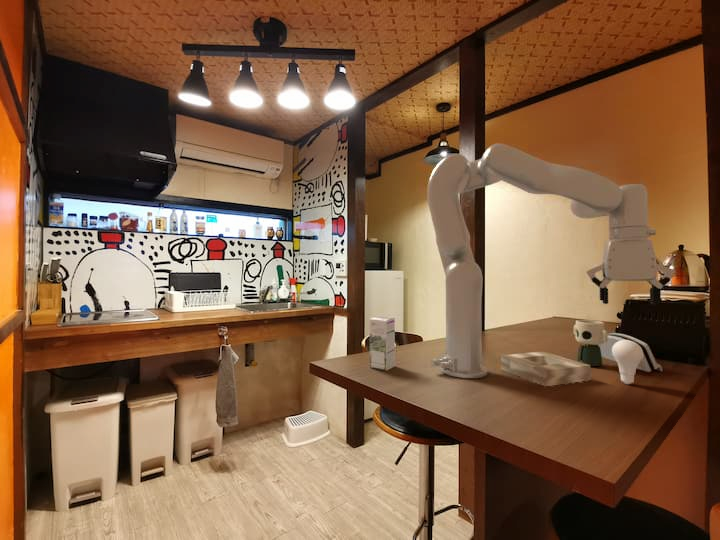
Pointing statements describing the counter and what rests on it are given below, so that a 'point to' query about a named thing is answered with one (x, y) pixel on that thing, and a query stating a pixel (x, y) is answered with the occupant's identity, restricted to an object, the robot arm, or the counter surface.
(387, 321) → the syrup box
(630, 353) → the lightbulb
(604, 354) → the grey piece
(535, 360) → the holder
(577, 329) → the character mug
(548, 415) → the counter surface
